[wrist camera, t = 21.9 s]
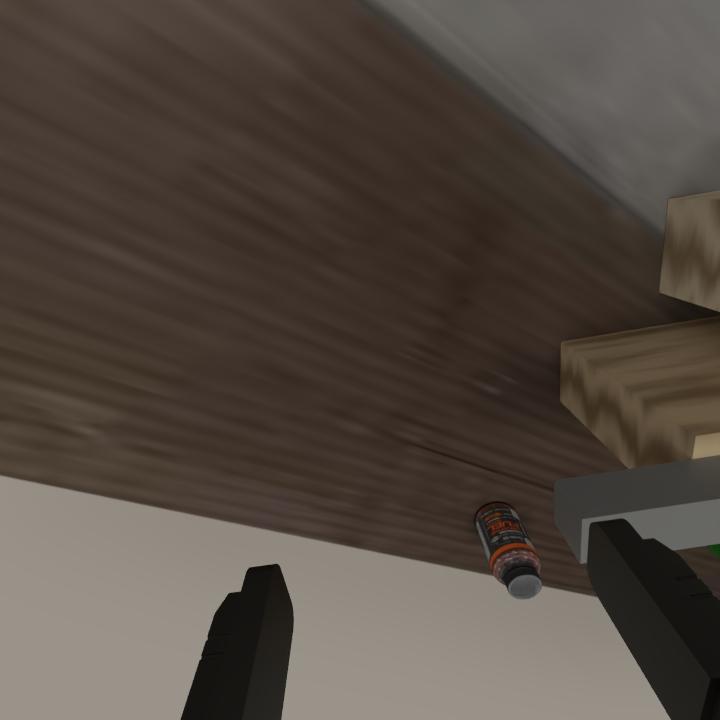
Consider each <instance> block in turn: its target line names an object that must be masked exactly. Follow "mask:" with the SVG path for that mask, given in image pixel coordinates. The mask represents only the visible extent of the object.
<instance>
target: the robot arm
mask: <svg viewBox="0 0 720 720" xmlns="http://www.w3.org/2000/svg"><path fill="white" fill-rule="evenodd" d="M587 571H588V576H589V579H590V582H591V585H592V587H593V589H594V591H595V593H596V595H597V596H598V598H599V600H600V601H601V603H602V605H603V607H604V608H605V610H606V612H607V613H608V615H609V616H610V618H611V620H612V622H613V623H614V625H615V627H616V628H617V630H618V631H619V633H620V635H621V637H622V638H623V640H624V642H625V643H626V645H627V647H628V648H629V650H630V652H631V653H632V655H633V657H634V658H635V660H636V662H637V663H638V665H639V667H640V668H641V670H642V672H643V673H644V675H645V677H646V678H647V680H648V682H649V683H650V685H651V687H652V688H653V690H654V692H655V693H656V695H657V697H658V698H659V700H660V702H661V704H662V705H663V707H664V708H665V710H666V712H667V714H668V715H669V717H670V718H671V720H720V601H719V600H718V599H717V597H714V596H713V595H712V592H711V591H710V590H709V588H708V587H707V586H706V585H705V584H704V583H703V582H702V580H701V579H698V578H697V575H696V574H695V573H694V571H693V570H692V569H691V568H690V567H689V566H688V565H687V564H686V562H685V561H684V560H683V559H682V558H681V557H680V556H679V555H678V554H677V553H676V552H674V551H673V550H671V549H670V548H668V547H667V546H665V545H664V544H662V543H661V542H659V541H658V540H656V539H655V538H650V539H642V537H641V536H640V535H639V534H638V532H637V531H636V530H635V529H634V528H633V526H632V525H631V524H630V523H629V522H628V521H627V520H625V519H623V518H620V519H613V520H605V521H598V522H592V523H591V524H590V526H589V537H588V553H587ZM293 617H294V616H293V606H292V602H291V599H290V596H289V593H288V590H287V586H286V583H285V581H284V577H283V574H282V572H281V568H280V566H279V565H278V564H273V565H265V566H258V567H251V568H249V569H248V570H247V572H246V575H245V579H244V582H243V586H242V590H241V592H234V593H229V594H228V595H227V597H226V598H225V600H224V601H223V602H222V604H221V606H220V607H219V608H218V610H217V611H216V613H215V615H214V618H213V621H212V624H211V627H210V630H209V633H208V640H207V641H206V643H205V646H204V649H203V652H202V658H201V660H200V661H199V664H198V667H197V671H196V673H195V677H194V680H193V683H192V686H191V689H190V692H189V695H188V698H187V701H186V705H185V708H184V711H183V714H182V717H181V720H281V717H282V709H283V702H284V694H285V687H286V679H287V671H288V665H289V657H290V649H291V642H292V634H293V623H294V618H293Z"/></svg>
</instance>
